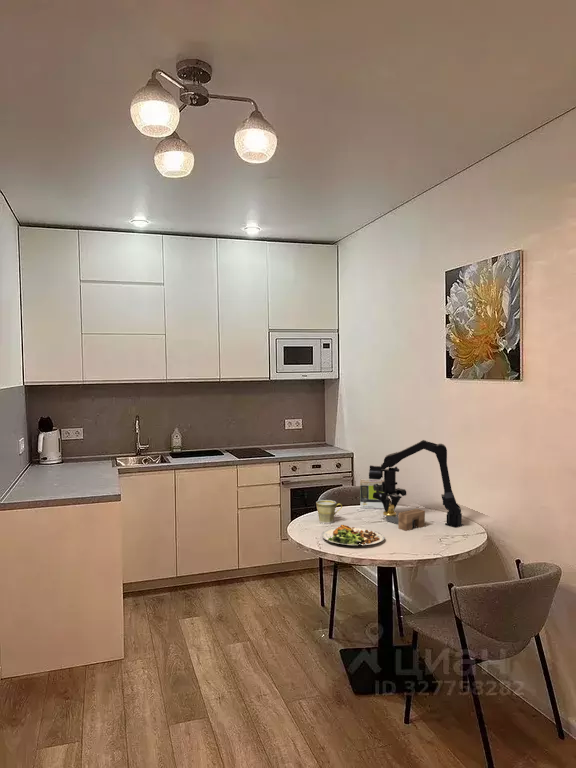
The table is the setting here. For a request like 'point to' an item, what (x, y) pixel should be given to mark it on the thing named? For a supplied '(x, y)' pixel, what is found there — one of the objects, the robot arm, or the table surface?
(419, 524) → the block
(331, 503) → the ceramic cup
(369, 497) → the tea box
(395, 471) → the robot arm
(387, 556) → the table surface
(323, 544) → the table surface
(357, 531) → the plate of food
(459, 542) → the table surface
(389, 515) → the grey sliding bolt
